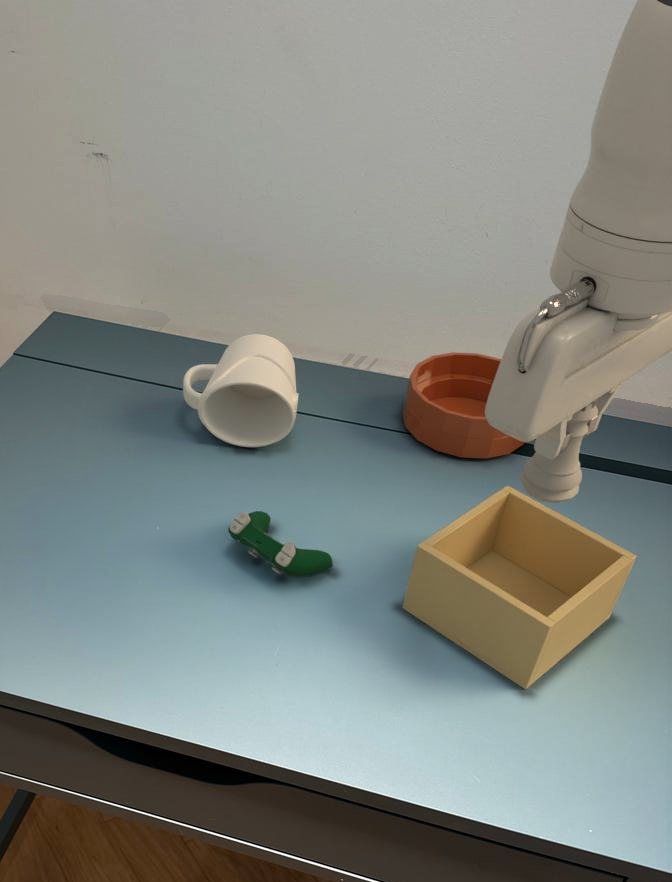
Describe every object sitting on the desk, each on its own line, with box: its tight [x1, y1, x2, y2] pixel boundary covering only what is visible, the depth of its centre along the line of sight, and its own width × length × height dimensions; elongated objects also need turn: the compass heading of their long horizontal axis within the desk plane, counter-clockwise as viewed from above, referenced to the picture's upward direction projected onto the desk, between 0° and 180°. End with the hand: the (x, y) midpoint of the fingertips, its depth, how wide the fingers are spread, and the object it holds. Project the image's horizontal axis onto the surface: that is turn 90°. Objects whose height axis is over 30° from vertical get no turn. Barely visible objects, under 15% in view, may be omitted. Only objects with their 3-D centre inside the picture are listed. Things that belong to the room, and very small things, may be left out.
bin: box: [401, 485, 637, 690], centre depth 83 cm, size 13×13×7 cm
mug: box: [182, 333, 299, 448], centre depth 102 cm, size 12×9×8 cm
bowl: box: [402, 351, 525, 459], centre depth 104 cm, size 13×13×5 cm
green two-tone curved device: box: [227, 510, 334, 578], centre depth 89 cm, size 9×4×6 cm
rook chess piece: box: [519, 399, 598, 504], centre depth 73 cm, size 4×4×8 cm
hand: (564, 441), depth 73 cm, fingers closed on rook chess piece, 3 cm apart
